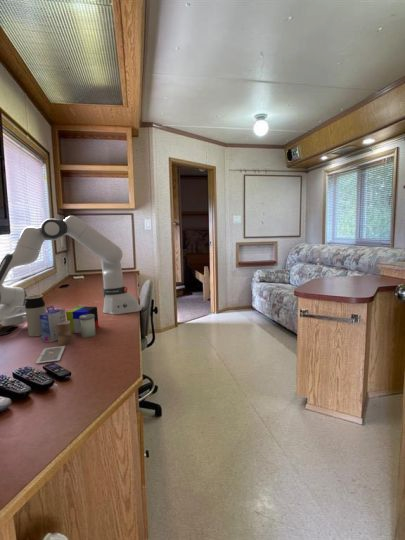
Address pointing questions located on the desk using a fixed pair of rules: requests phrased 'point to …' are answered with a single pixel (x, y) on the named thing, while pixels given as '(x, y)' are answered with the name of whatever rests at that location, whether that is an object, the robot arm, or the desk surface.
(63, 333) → the brown cylindrical container
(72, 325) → the puzzle toy
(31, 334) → the travel mug
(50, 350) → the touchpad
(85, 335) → the sage canister
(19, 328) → the desk surface
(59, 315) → the ink cartridge box
